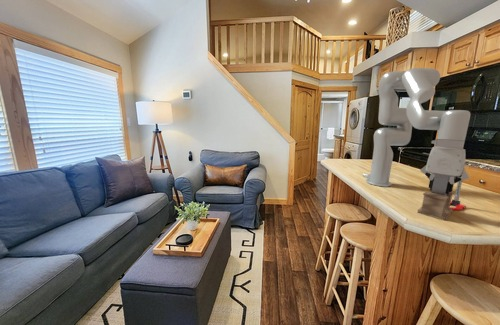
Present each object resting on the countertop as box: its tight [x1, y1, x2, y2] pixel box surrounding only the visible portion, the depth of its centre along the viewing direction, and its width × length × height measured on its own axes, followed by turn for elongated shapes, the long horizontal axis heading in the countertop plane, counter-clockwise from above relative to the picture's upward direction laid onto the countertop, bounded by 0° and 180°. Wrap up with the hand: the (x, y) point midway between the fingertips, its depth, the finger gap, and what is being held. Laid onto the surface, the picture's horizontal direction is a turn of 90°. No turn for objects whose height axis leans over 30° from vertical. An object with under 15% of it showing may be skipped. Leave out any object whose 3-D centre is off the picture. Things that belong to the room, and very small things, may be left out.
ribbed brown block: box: [417, 190, 455, 221], centre depth 83 cm, size 8×14×8 cm, turn 128°
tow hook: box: [449, 180, 467, 212], centre depth 88 cm, size 8×13×9 cm
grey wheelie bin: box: [430, 174, 450, 196], centre depth 81 cm, size 5×5×10 cm
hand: (439, 191), depth 82 cm, fingers closed on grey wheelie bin, 4 cm apart
